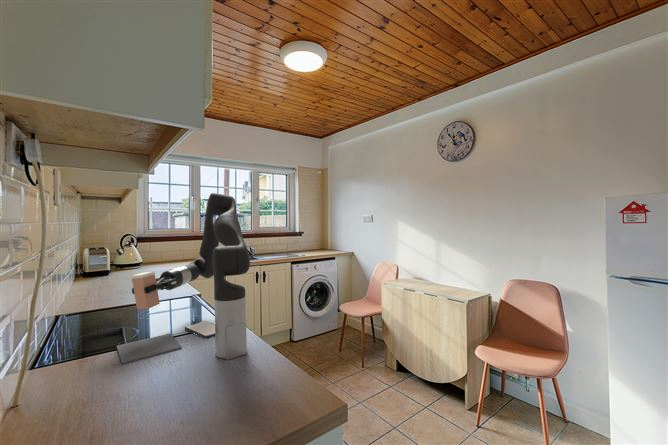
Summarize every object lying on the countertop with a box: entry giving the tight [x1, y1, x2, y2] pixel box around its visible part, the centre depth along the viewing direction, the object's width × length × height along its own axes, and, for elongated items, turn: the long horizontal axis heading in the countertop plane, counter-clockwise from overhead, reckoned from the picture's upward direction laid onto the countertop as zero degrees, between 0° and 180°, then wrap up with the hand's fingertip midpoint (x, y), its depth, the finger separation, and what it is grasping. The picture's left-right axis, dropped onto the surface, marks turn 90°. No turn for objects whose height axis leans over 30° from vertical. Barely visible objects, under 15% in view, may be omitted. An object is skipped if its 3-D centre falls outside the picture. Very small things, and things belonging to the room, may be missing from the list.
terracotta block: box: [130, 271, 161, 310], centre depth 110 cm, size 5×5×12 cm
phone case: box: [184, 320, 215, 339], centre depth 116 cm, size 9×2×16 cm
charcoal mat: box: [116, 333, 183, 365], centre depth 101 cm, size 16×16×1 cm
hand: (139, 291), depth 107 cm, fingers closed on terracotta block, 5 cm apart
